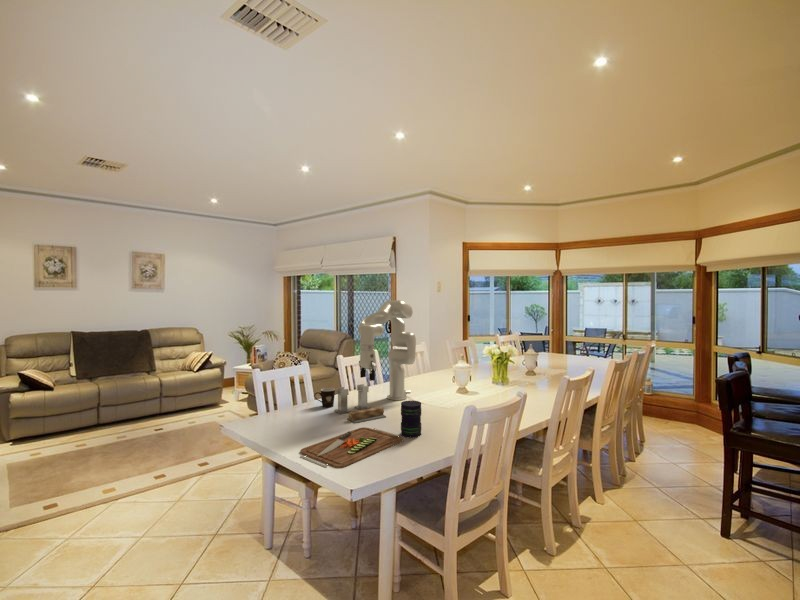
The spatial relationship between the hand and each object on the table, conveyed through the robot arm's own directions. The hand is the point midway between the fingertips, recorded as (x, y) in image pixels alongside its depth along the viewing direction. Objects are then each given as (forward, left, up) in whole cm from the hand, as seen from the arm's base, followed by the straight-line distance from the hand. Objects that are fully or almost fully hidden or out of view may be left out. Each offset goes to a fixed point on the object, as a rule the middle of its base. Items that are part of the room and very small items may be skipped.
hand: (367, 378), depth 223 cm
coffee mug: (+10, -32, -21) cm, 40 cm away
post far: (-6, -16, -21) cm, 27 cm away
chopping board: (+26, +34, -22) cm, 48 cm away
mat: (+1, +2, -21) cm, 21 cm away
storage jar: (-4, +36, -21) cm, 42 cm away
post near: (+7, -16, -21) cm, 27 cm away
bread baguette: (+1, +2, -20) cm, 20 cm away
